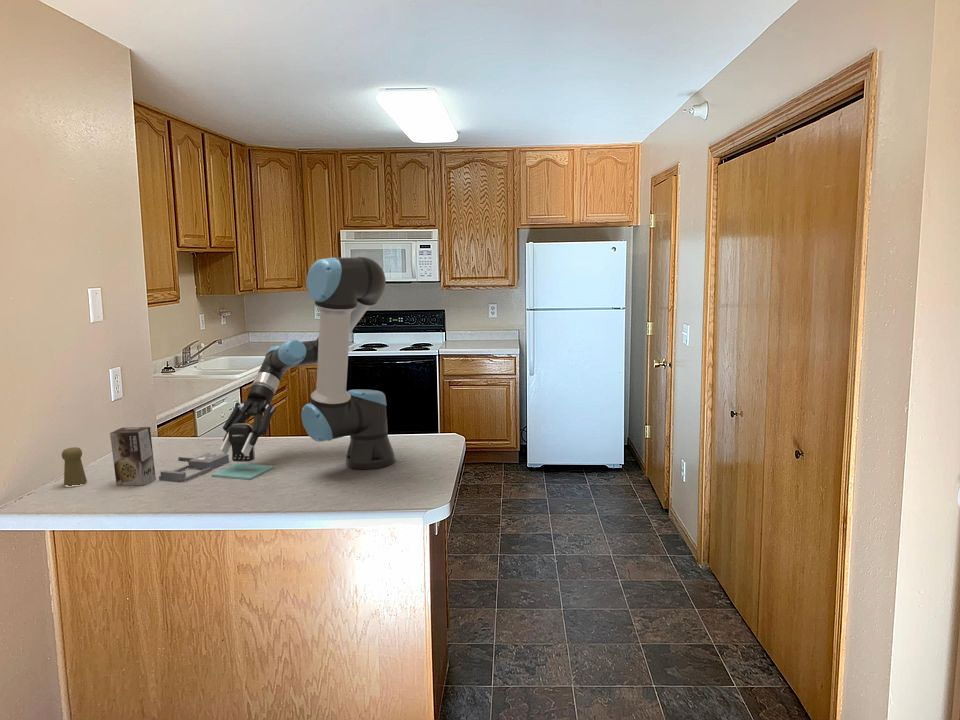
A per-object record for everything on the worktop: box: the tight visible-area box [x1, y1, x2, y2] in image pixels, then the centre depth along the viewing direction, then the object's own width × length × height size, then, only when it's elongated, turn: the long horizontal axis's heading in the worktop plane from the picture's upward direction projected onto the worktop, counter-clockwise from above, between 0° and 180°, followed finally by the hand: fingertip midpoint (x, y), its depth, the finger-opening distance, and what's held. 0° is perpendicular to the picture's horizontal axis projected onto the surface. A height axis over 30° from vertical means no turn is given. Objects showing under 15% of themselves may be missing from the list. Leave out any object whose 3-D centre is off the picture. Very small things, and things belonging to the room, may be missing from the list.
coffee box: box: [109, 426, 157, 486], centre depth 203 cm, size 9×6×16 cm
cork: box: [61, 446, 88, 486], centre depth 204 cm, size 6×6×11 cm
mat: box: [211, 462, 276, 481], centre depth 211 cm, size 14×12×1 cm
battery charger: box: [228, 423, 256, 463], centre depth 210 cm, size 7×4×11 cm, turn 83°
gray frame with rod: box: [158, 452, 230, 483], centre depth 215 cm, size 19×20×3 cm
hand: (233, 453), depth 207 cm, fingers closed on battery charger, 7 cm apart
